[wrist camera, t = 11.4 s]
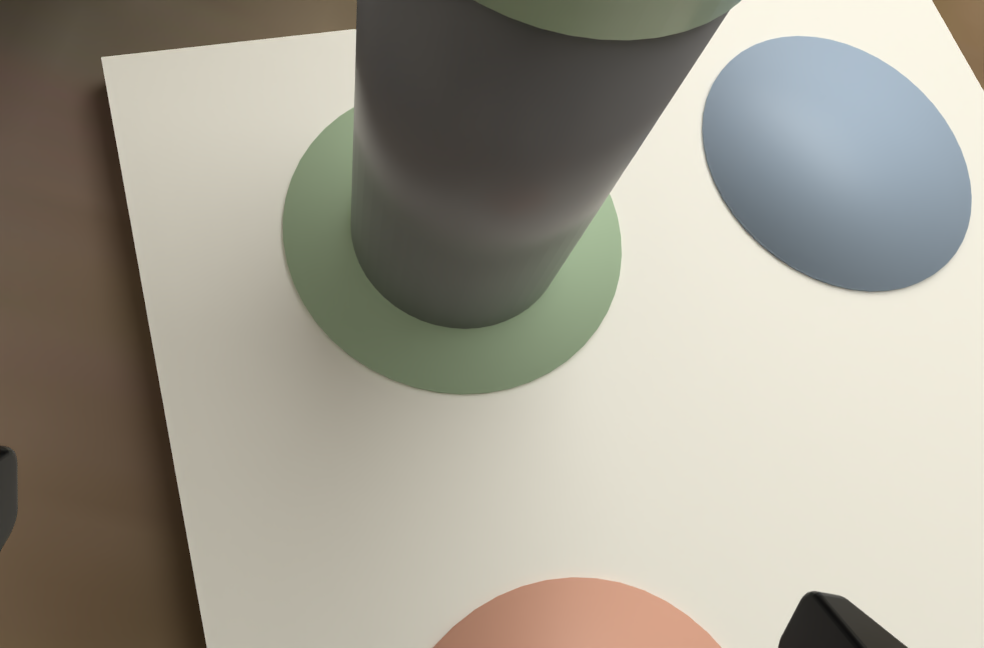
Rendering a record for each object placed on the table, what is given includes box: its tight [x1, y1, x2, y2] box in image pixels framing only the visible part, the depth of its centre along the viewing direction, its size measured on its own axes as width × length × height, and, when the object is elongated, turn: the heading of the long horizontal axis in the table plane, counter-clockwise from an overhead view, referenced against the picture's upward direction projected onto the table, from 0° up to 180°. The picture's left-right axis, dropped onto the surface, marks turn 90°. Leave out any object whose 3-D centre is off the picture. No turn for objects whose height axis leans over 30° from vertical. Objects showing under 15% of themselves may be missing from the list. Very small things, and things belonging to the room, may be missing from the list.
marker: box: [351, 0, 742, 329], centre depth 12 cm, size 5×5×12 cm
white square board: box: [101, 0, 984, 648], centre depth 18 cm, size 24×24×1 cm
